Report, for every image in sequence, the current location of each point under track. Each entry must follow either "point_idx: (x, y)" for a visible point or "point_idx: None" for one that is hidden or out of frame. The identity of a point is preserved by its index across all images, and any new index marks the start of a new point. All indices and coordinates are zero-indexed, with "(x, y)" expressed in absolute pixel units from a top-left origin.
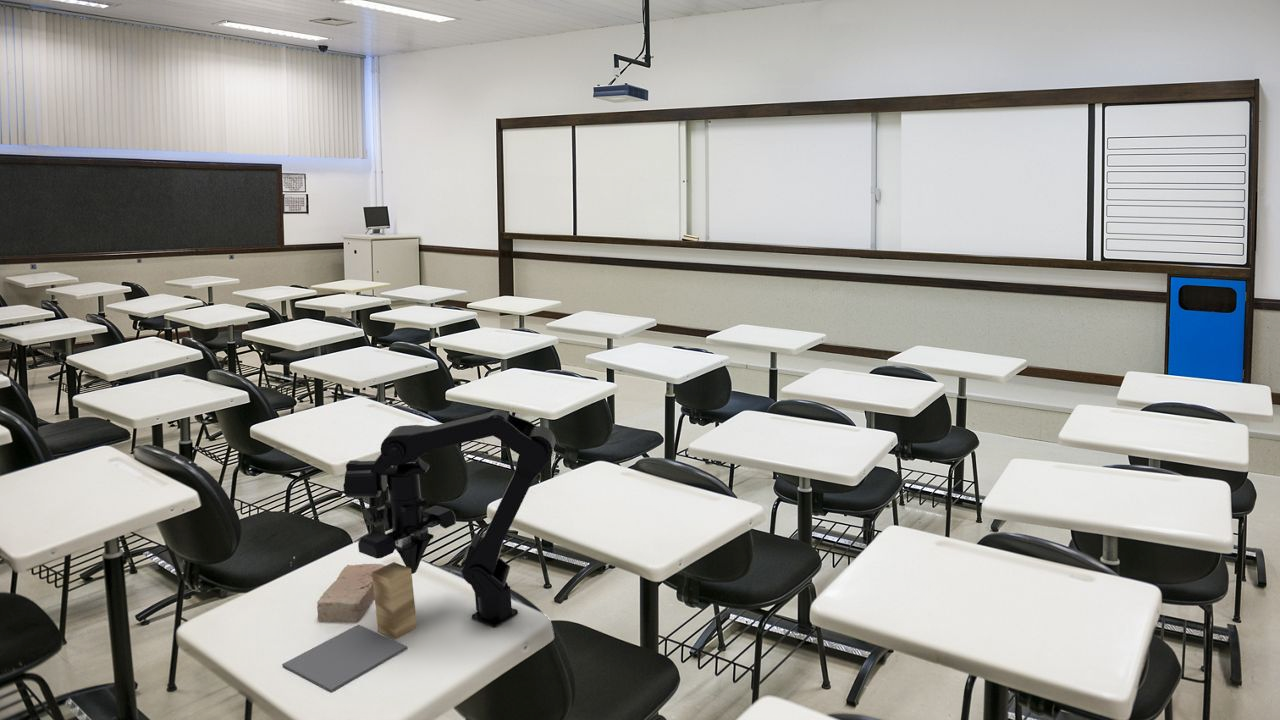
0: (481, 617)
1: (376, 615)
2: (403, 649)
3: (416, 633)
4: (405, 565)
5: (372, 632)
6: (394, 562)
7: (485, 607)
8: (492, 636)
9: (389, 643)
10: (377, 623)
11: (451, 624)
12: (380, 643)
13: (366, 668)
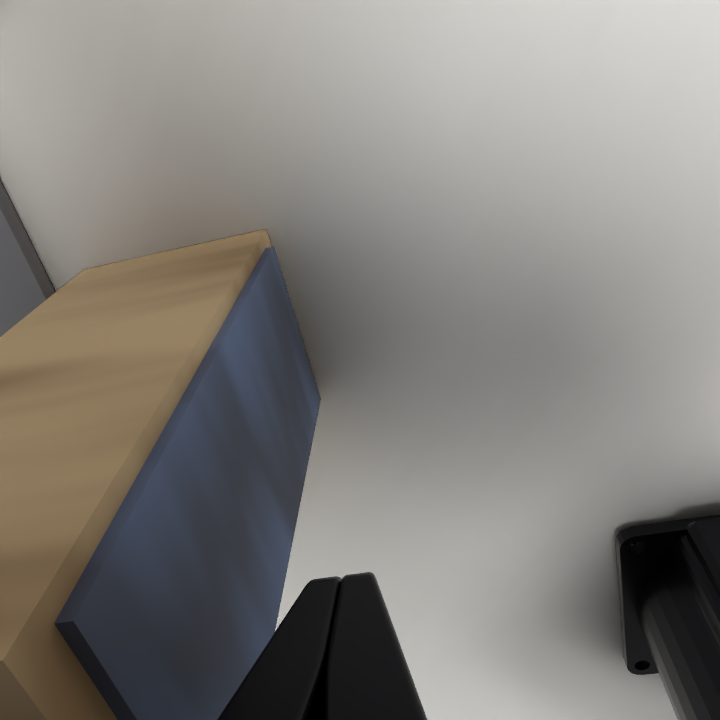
0: (640, 597)
1: (16, 324)
2: None
3: None
4: (239, 689)
5: (27, 297)
6: (15, 687)
7: (670, 700)
8: (559, 695)
9: None
10: (54, 295)
11: (493, 502)
12: None
13: None
